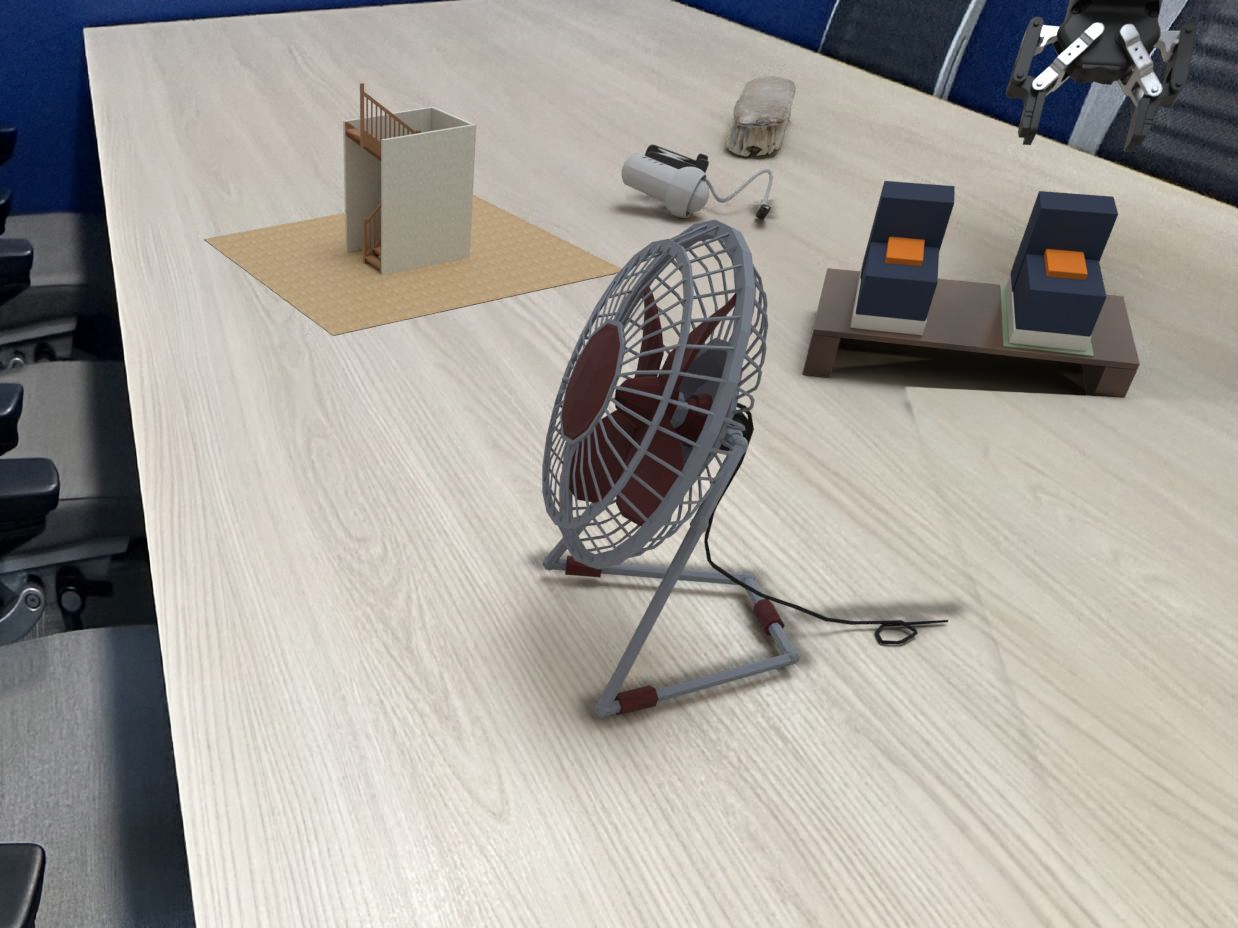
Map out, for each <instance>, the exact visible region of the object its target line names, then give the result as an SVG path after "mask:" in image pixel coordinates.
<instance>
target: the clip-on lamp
mask: <svg viewBox="0 0 1238 928" xmlns="http://www.w3.org/2000/svg"><path fill="white" fill-rule="evenodd" d="M709 164H710V161H709V156H708V155H707V154H704V153H701V152H700V153H698V154H697V156H696V159H694V158H692V157H689V156H687V155H683V154H680V153H678V152H675V151H673V150H669V149H667V148H664V147H662V146H659V145H657V144H649V145H648V146H647V148H646V150H645V153H644V154H642V153H640V152H635V153H633V154H631V155H630V156H628V157H627V158H626V160H625V161H624V162H623V165H622V167H621V180H622V182H623V184H624V185H625V186H627V187H630V188H632V189H634V190H635V191H638V192H641V193H643V194H645V195H646V196H647V195H648V196H650V197H651V198H654V199H656V200H658V201H661V202H663V203H664V205H665V207H666V209H667V211H668V212H669V213H670V214H671V215H673V216H674V217H677V218H679V219H680V218H681V219H688V218H689V217H690V216H691V215H692V213H697V212H699V211H701V210H702V209H704V207H705V206H706V205H707V204H708V201H709V198H710V192H711V194H712V196H713V197H714V199H715V200H716V201H717V202H718V203H721V204H725V203H728V202H729V201H731V200H732V199H733V198H735V197H736V196H737V195H738V194H739V193H741V192H742V191H743V190H745V188H746V187H747V186H748V185H749V184H751V183H752V182H753V181H754V180H756V178H758V177H759V176H762V175H763V174H768V178H769V180H768V183H767V188H766V191H765V193H764V196H763V199H762V202H761V205H760V207H759V208H758V210H757V211H756V213H755V218H757V219H759V220H765V219H766V217H767V215H769V213H770V211H771V209H772V207H771V206H770V205H768V204H767V203H768V200H769V196H770V194H771V190H772V185H773V179H774V175H773V171H772V170H771V169H770V168H763V169H760V170H758V171H756V172H755V173H754V174H753V175H752V176H750V177H749V178H748V179H747V180H745V182H743V183H742V184H741V185H740V186H738V188H736V189H735V190H734V191H733V192H732V193H730V194H729V195H728V196H725V197H721V196H719V194H718V193H717V191H716V189H715V186H714V185H713V183H712V182H711V180H710V179H709V178H707V174H706V173H707V170H708V168H709Z"/></svg>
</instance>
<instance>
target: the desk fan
mask: <svg viewBox="0 0 1238 928" xmlns="http://www.w3.org/2000/svg"><path fill="white" fill-rule="evenodd" d="M716 241H717V242H718V243H719V245H720V246H721V247H722V249H720V250H717V251H715V250H714V249H713V247H711V245H710V244H712V243H714V242H716ZM698 242H700V243H698ZM703 246H705V248H706V249H707V250H708V252H709V253H708V254H704V255H702V256H698V255H697V254H696V252H694V251H693V250H695V249H698V248H701V247H703ZM687 252H689V254H690V255H691V256H692V257H693V258H692V259H690V258H689V255H688V254H687ZM725 253H726V255H727V256H728V258H729V259H730V262H731V266H727V267H724V266H723V264H722V260H721V258H720V257H719V255H723V254H725ZM712 257H713V258H714V259H715V261H717V264H718V267H719V269H715V270H711V271H709V268H708V266H707V265H706V264H705V263H704V262H703V261H704V260H706V259H709V258H712ZM696 262H697V263H698V264H699V265H700V266H701V267H702V268H703V270H704V271H705V272H703V273H698V274H695V275H693V266H692V264H693V263H696ZM643 263H644V264H643ZM641 264H643V266H642V267H641V268H640V265H641ZM670 264H672V265H673V266H674V267H675V268H674V269H672V271H671V272H669V274H667V275H666V276H665V277H664V278H663V279H662V278H661V277H660V275H661V274H662V272H663V271H664V270H665V269H666V268H667V267H668V266H669V265H670ZM639 268H640V270H638V269H639ZM637 270H638V271H637ZM730 270H731V271H733V279H734V280H733V284H734V285H733V286H734V288H732V289H728V286H727V279H726V272H727V271H730ZM678 271H679V272H680V274H681V280H679V281H678V282H677V283H675V284H674V285H673V286H672V287H671V286H670V285H669V284H668V283H667V282H666V281H667V280H668V279H670V278H671V276H673V275H674V274H675V273H676V272H678ZM720 273H721V278H722V286H723V287H722V288H723V290H721V291H715V289H714V283H713V279H712V275H715V274H720ZM633 277H634V278H633ZM704 277H707V281H708V284H709V285H708V286H709V289H710V292H709V293H703V294H700V291H699V288H698V286H697V283H696V281H695V280H696V279H700V278H704ZM632 278H633V279H632ZM631 279H632V280H631ZM630 280H631V281H630ZM655 280H657V281H658V282H659V283H657V284H656V285H655V286H654V287H653V288H652V289H651V286H652V284H653V283H654V281H655ZM634 282H635V283H634ZM628 283H629V284H628ZM627 285H628V286H627ZM632 285H633V286H632ZM681 285H682V293H683V294H682V296H683V297H682V296H681V295H680V294H679V292H677V291H676V289H677V288H678V287H680V286H681ZM626 286H627V288H626V290H624V289H625V287H626ZM631 286H632V287H631ZM661 286H663V287H665V288H666V289H667V291H665V292H664V293H662V294H661V295H660V296H659V297H657V298H656V299H655V296H654V292H655V291H657V290H658V288H660V287H661ZM619 289H620V290H619ZM618 290H619V292H618ZM757 290H758V291H759V292H758V300H757V297H756V295H757ZM670 293H671V294H672V295H673V296H674V297H676V298H677V302H675V303H673V304H671V305H670V306H668V307H666V308H664V309H662V308H661V307H660V306H658V305H657V304H658V303H659V302H660V301H661V300H663V299H664V298H665V297H668V295H669V294H670ZM729 294H732V296H731V297H730V298H729ZM723 295H724V300H725V301H724V303H725V304H724V305H723V306H721V307H720V308H719V306H718V301H717V296H723ZM622 296H623V297H622ZM616 297H617V299H616ZM710 297H712V302H713V305H714V312H713V313H712V314H711V315H709V316H707V310H706V307H705V305H704V302H703V300H702V299H705V298H710ZM767 297H768V296H767V292H766V291H765V290H764V284H763V279H762V276H761V275H760V273H759V272H758V270H757V268H756V266H755V264H754V262H753V254H752V251H751V250H750V246H749V245H748V244H747V241H746V239H745V237H744V235H743V233H742V231H741V230H738V229H736V228H735V227H733V226H731V225H729V224H727V223H724V222H723V221H720V220H718V219H710V220H706V221H701V222H697V223H694V224H692V225H690V226H689V227H688V228H686V229H684V230H683V231H682V232H681V233H679V234H678V235H675V236H673V237H671V238H665V239H659V240H655V241H652V242H650V243H649V244H648V245H646V246H645V247H643V248H642V249H640V250H639V251H637V253H634V255H632V257H630V259H629V260H628V261H627V263H625V264H624V266H623V267H621V270H620V272H618V273H616V275H615V276H614V277H613V279H612V281H611V282H610V284H609V285H608V287H607V288H606V289H605V291H604V292H603V294H602V295H601V296H600V298H599V300H598V301H597V303H596V305H595V307H594V309H593V311H592V312H591V314H590V316H589V318H588V320H587V321H586V324H585V325H584V327H583V329H582V331H581V332H580V335H579V336H578V339H577V341H576V343H575V346H574V348H573V351H572V354H571V356H570V358H569V360H568V361H567V365H566V368H565V369H564V373H563V376H562V377H561V382H560V384H559V385H560V386H559V388H558V391H557V394H556V397H555V400H554V403H553V407H552V412H551V415H550V420H549V422H548V423H549V424H548V429H547V432H546V436H545V443H544V451H543V458H542V465H541V467H542V469H541V486H542V487H541V494H542V497H543V502H544V507H545V512H546V514H547V515H548V517H549V518H550V520H551V521H552V523H553V525H554V526H556V527H558V530H559V532H560V534H561V535H562V537H561V539H560V540H559V541H558V542H557V543H556V545H555V546H554V547H553V549H552V550H550V552H549V553H548V554H547V556H545V557H544V558H543V559H542V566H543V568H544V569H545V570H547V571H553V570H556V571H564V576H575V577H576V576H577V577H587V578H588V577H589V578H601V577H602V576H601V575H612V576H613V575H614V576H626V577H637V578H649V579H661V581H660V583H659V585H658V587H657V588H656V591H655V593H654V595H653V596H652V599H651V600H650V602H649V604H648V606H647V607H646V610H645V612H644V613H643V616H642V618H641V620H640V621H639V624H638V625H637V627H636V629H635V631H634V632H633V634H632V637H631V638H630V640H629V642H628V645H627V646H626V648H625V650H624V652H623V654H622V656H621V657H620V659H619V661H618V663H617V665H616V667H615V668H614V671H613V673H612V675H611V677H610V678H609V680H608V682H607V684H606V687H605V688H604V690H603V692H602V694H601V696H600V698H599V700H598V702H597V703H596V704H595V705H594V710H593V711H594V714H595V715H596V716H597V717H599V718H602V719H604V718H607V717H609V716H611V715H612V716H613V715H616V716H621V715H625V714H630V713H635V712H638V711H643V710H647V709H651V708H655V707H656V706H657V704H658V702H662V701H665V700H669V699H672V698H677V697H679V696H683V695H687V694H690V693H695V692H698V691H701V690H705V689H708V688H712V687H715V686H719V685H722V684H726V683H730V682H734V681H737V680H740V679H744V678H748V677H752V676H755V675H758V674H762V673H765V672H769V671H773V670H777V669H780V668H783V667H788V666H792V665H796V664H797V663H798V662H799V661H800V659H801V654H800V651H799V650H797V649H796V648H794V646H793V644H792V642H791V641H790V639H789V638H788V635H787V634H786V632H785V631H784V628H785V626H786V624H785V623H784V621H783V620H782V619H783V618H781V616H780V614H779V612H778V610H777V608H776V606H775V605H774V603H777V604H779V605H782V606H786V607H789V608H792V609H794V610H796V611H799V612H801V613H805V614H806V615H808V616H812V617H814V618H817V619H818V620H821V621H824V622H828V623H835V624H842V625H851V626H859V625H861V626H863V625H864V626H865V625H879V626H878V628H877V629H876V630H874V635H875V637H876V640H877V642H878V643H880V644H881V645H902V644H906V642H908V641H910V640H911V639H912V638H914V637H916V636H917V635H918V630H917V628H915V627H914V626H917V625H918V626H919V625H930V624H931V625H932V624H943V623H949V619H939V620H919V621H917V620H916V621H904V620H902V619H893V620H891V619H888V620H887V619H886V620H885V619H884V620H851V619H842V618H835V617H827V616H825V615H822V614H821V613H820V614H819V613H818V612H815V611H813V610H810V609H808V608H806V607H803V606H800V605H798V604H794V603H792V602H789V601H786V600H783V599H780V598H777V597H774V596H771V595H768V594H765V593H762V591H761V590H760V587H759V586H758V584H757V582H756V575H754V574H753V573H752V572H749V571H746V572H743V573H737V572H727V571H726V570H725V569H723V568H722V567H720V565H718V564H716V563H715V562H714V561H713V560H712V556H711V551H710V545H709V541H708V540H709V537H710V533H711V528H712V524H713V521H714V517H715V513H716V511H717V508H718V506H719V504H720V502H721V501H722V498H723V497H724V496H725V494H726V492H727V490H728V489H729V487H730V485H731V483H732V482H733V480H734V479H735V477H736V475H737V473H738V471H739V470H740V468H741V466H742V465H743V462H744V459H745V457H746V454H747V451H748V448H749V446H750V444H751V439H752V437H753V433H754V431H755V427H754V421H753V414H752V412H751V410H753V408H754V406H755V401H756V399H755V398H754V396H753V395H752V394H751V393H754V392H755V391H758V389H759V386H760V385H761V380H762V375H763V371H762V368H763V366H764V365H765V360H766V355H767V348H768V347H767V337H768V336H767V335H768V330H769V318H768V313H767V312H768V298H767ZM621 298H622V299H621ZM609 299H611V300H610V304H609V306H608V303H609ZM615 299H616V301H615ZM620 299H621V300H620ZM694 300H697V301H698V304H699V307H700V309H701V313H702V316H703V317H700V318H692V315H693V314H692V313H693V305H694ZM620 301H621V302H620ZM614 302H615V304H614ZM613 304H614V306H613ZM642 304H643V310H642V311H641V312H640V314H638V316H637V317H636V318H635V320H633V318H634V316H635V314H636V313H637V312H638V310H639V309H640V307H641V306H642ZM762 304H763V305H762ZM618 305H619V306H618ZM679 305H681V307H682V314H681V320H678V321H676V322H674V321H673V320H672V318H671V317H670V316H669V315H668V314H667V313H668V312H669V311H670V310H672V309H674V308H675V307H678V306H679ZM607 306H608V310H607ZM612 308H613V309H612ZM755 308H756V309H757V311H756V319H755V321H754V324H752V323H753V317H754V313H755ZM602 310H603V311H602ZM606 310H607V311H606ZM732 310H733V311H732ZM601 311H602V313H601ZM611 311H612V312H611ZM606 312H607V313H606ZM730 312H732V314H731V315H729V313H730ZM600 313H601V314H600ZM642 316H643V322H642V324H640V323H638V322H639V321H640V319H641V318H642ZM660 316H663V317H664V318H665V319H666V321H667V322H668V323H669V325H667V326H665V327H663V326H662V323H661V319H660ZM599 318H601V319H600V323H599ZM760 318H761V319H760ZM726 321H729V322H728V325H727V327H726V330H725V333H724V336H723V339H722V338H721V337H722V335H723V334H722V333H723V331H724V326H725V322H726ZM759 321H760V327H759V330H757V329H756V328H757V327H758V326H759ZM630 323H631V324H630ZM696 323H699V324H697V326H696ZM594 324H595V327H594V330H593V332H592V328H593V326H594ZM628 324H630V326H629V325H628ZM598 325H599V326H598ZM679 325H680V329H678V328H677V326H679ZM719 325H720V326H719ZM732 325H733V326H732ZM627 326H629V327H628V328H627ZM634 326H635V327H637V329H636V330H634V332H633V333H632V334H631V335H630V336H629V337H628V338H627V339H626V336H627V335H628V334H629V333H630V332H631V330H632V329H633V328H634ZM718 326H719V330H718V333H717V336H716V337H714V335H715V330H716V329H717V327H718ZM626 328H627V329H626ZM691 328H692V331H691ZM625 329H626V331H625ZM670 329H673V331H674V332H675V334H676V335H677V336H678V341H677V344H673V345H669V346H666V345H665V344H664V339H663V338H664V337H663V333H664V332H665V331H666V332H667V331H668V330H670ZM731 329H732V332H731ZM679 330H680V331H679ZM640 331H642V337H641V338H640V339H638V340H637V341H636V342H635V343H633V344H632V345H630V346H629V347H628V346H627V344H628V343H629V342H630V341H631V340H632V339H633V338H634V337H635V336H636V335H637V334H638V333H639V332H640ZM730 332H731V333H730ZM753 333H754V335H755V338H754V340H753V341H752V342H751V344H750V346H749V347H748V345H749V340H750V337H751V336H752V334H753ZM729 334H730V337H729ZM728 337H729V339H728ZM708 339H709V341H708V342H707V340H708ZM727 339H728V340H727ZM586 340H587V341H586ZM759 341H761V344H760V346H759V348H758V351H757V352H756V353H755V354H754V355H753V356H752V357H750V356H749V354H750V352H751V351H752V350H753V348H754V347H755V346H756V345H757V343H758V342H759ZM706 342H707V343H706ZM640 343H641V344H640ZM639 344H640V348H639V349H640V350H639V352H637V351H635V350H633V349H634V348H635V347H637V346H638V345H639ZM628 353H630V354H632V355H633V356H631V357H630V358H628V359H626V360H624V358H625V355H626V354H628ZM665 353H667V357H666V358H665V360H664V362H663V365H662V361H663V359H664V355H665ZM760 355H761V357H760V362H759V364H758V363H757V362H756V361H755V360H756V359H757V358H759V356H760ZM636 359H638V360H637V367H636V370H632V371H627V372H622V369H623V367H624V366H625V365H627V364H628V363H631V362H633V361H634V360H636ZM745 360H746V361H747V362H746V363H745V365H744V361H745ZM661 366H662V367H661ZM750 366H752V367H754V368H755V369H754V370H753V371H752V372H750V373H749V374H748V375H746V376H745V377H744V378H743V373H744V372H745V371H746V370H747V368H749V367H750ZM756 374H757V379H756V384H755V385H754V386H753V387H752V388H750V389H748V390H744V389H743V388H741V387H742V386H743V385H744V384H745V383H746V382H747V381H749V380H751V378H752V377H754V376H755V375H756ZM631 376H634V377H631ZM620 378H622V379H624V380H623V381H622V382H621V383H620V385H618V382H619V380H620ZM742 378H743V379H742ZM613 395H614V397H613ZM745 396H746V397H748V398H749V400H750V404H749V406H746V405H745V404H743V403H741V402H739V400H740V399H742V398H743V397H745ZM610 403H612V404H613V405H614V408H615V410H613V411H612V412H610V411H609V409H608V408H609V405H610ZM560 408H561V410H560ZM745 414H746V415H745ZM604 415H605V416H604ZM558 419H559V421H557V420H558ZM559 426H560V427H559ZM555 432H557V433H556V434H555ZM554 434H555V436H554ZM558 437H559V438H558ZM557 439H558V440H557ZM556 441H557V442H556ZM555 443H556V445H555ZM554 445H555V447H554V448H553V446H554ZM559 445H560V446H559ZM558 447H559V448H558ZM562 448H563V449H562ZM560 454H561V455H560ZM718 454H720V455H724V456H725V458H724V459H723V461H722V460H721V459H720V457H719V455H718ZM554 457H555V459H554ZM553 459H554V461H553V463H552V460H553ZM714 459H715V460H716V461H717V464H718V465H719V469H718V471H717V472H716V474H715V476H714V477H712V473H711V471H710V468H709V465H710V464H711V463H712V461H713V460H714ZM557 462H558V465H557V467H556V470H555V469H554V468H555V466H556V463H557ZM560 468H561V470H560ZM554 470H555V472H554ZM705 470H706V474H707V476H702V474H703V473H704V471H705ZM559 471H561V472H560V474H559V479H558V473H559ZM553 479H554V488H553ZM702 481H708V482H709V487H708V489H707V490H706V492H705V493H704V495H703V488H702ZM696 482H697V488H698V489H697V491H698V500H693V486H694V485H695V483H696ZM557 487H558V498H557ZM552 488H553V489H552ZM687 493H688V500H685V496H686V495H687ZM573 498H574V499H573ZM573 501H574V502H575V503H574V502H573ZM578 501H582V502H585V506H579V503H578ZM574 504H575V506H574ZM613 504H615V506H616V507H617V509H618V511H619V512H617V513H616V514H614V513H613V512H612V511H611V509H609V506H611V505H613ZM556 505H557V506H558V508H557V507H556ZM683 505H687V511H686V512H685V515H684V517H683V518H682V512H683V507H684V506H683ZM692 505H695V506H694V507H693V509H692ZM677 508H678V510H677ZM582 510H584V511H583V512H582V513H581V514H579V511H582ZM676 510H677V516H676V519H675V520H673V521H671V520H672V517H673V514H674V513H675V511H676ZM574 511H575V512H576V513H575V514H576V516H574ZM604 511H606V512H607V514H608V515H609V517H608V518H606V519H604V520H601V521H598V520H597V517H598V516H599V515H601V514H602V513H603V512H604ZM693 515H694V516H693ZM619 516H621V517H622V518H624V519H626V521H624V522H623V523H621V521H620V520H619V519H618V517H619ZM692 517H693V518H692ZM681 518H682V519H681ZM690 519H691V520H690ZM688 520H690V522H689V528H688V530H687V532H686V534H685V535H684V537H683V539H682V541H681V544H680V545H679V547H678V549H677V551H676V552H675V554H674V557H673V559H672V561H671V562H670V564H669V566H668V567H664V566H651V565H640V564H628V563H624V562H625V561H626V560H628V559H632V558H635V557H640V556H642V555H644V554H645V553H646V552H648V551H651V550H652V551H653V550H655V549H657V548H658V547H660V546H661V545H662V544H663V543H664V542H665V541H666V539H670V538H671V537H673V536H675V534H676V533H677V532H678V531H679V530H680V528H681V527H682V526H683V525H684V524H685V523H686V522H687V521H688ZM592 521H593V522H592ZM610 521H614V522H615V523H616V524H617V526H618V527H616V528H615V529H613V530H612V531H610V532H608V533H607V532H606V531H605V529H604V528H603V527H602V526H601V525H604V524H607V523H608V522H610ZM631 522H632V523H634V524H635V525H636V526H635V527H633V528H632V529H630V531H629V530H627V528H625V527H626V526H628V525H629V524H630V523H631ZM593 526H594V527H595V526H596V527H597V528H598V529H599V531H600V532H601V534H602V535H601V534H600V535H596V536H591V534H590V533H589V532H588V530H587V527H593ZM669 526H671V527H670V528H669ZM661 529H662V530H661ZM667 529H668V530H667ZM620 530H622V531H623V532H624V534H625V535H624V536H622V537H621V538H620V539H619V540H617V541H615V542H613V540H612V539H611V538H610V536H612V535H615V534H616V533H617V532H619V531H620ZM660 530H661V531H660ZM583 532H584V533H585V535H586V536H587V537H583V538H580V535H581V534H582V533H583ZM633 533H634V534H633ZM703 534H704V539H703V540H704V541H703V543H704V549H705V555H706V561H707V562H708V564H709V565H710V566H711V568H712V569H714V571H711V570H699V569H698V570H697V569H688V568H686V565H687V563H688V562H689V559H690V558H691V556H692V554H693V552H694V550H695V548H696V546H697V545H698V542H699V541H700V539H701V537H702V535H703ZM601 539H606V540H607V542H608V543H609V545H604V546H598V545H597V544H596V542H595V540H601ZM588 541H589V542H591V544H592V546H593V548H586V547H585V544H584V543H583V542H588ZM648 543H649V544H648ZM647 544H648V545H647ZM646 546H647V547H646ZM606 549H610V550H606ZM567 550H568V553H569V554H570V555H566V558H562V557H563V555H564V554H565V553H566V552H567ZM601 550H602V551H601ZM603 550H605V551H603ZM594 552H597V553H594ZM678 581H686V582H695V583H696V582H698V583H709V584H718V585H719V584H721V585H722V584H723V585H732V586H733V585H734V586H735V585H736V586H740V587H741V588H743V589H744V590H745V592H746V593H747V595H748V597H749V598H750V600H751V602H752V604H753V606H752V613H753V615H754V616H755V618H756V619H757V621H758V623H759V624H760V627H761V628H762V631H764V632H765V634H766V636H769V637H772V639H773V641H774V642H775V644H776V646H777V648H778V649H779V651H780V653H781V654H779V655H777V656H776V655H775V656H772V657H770V658H769V657H768V658H765V659H762V660H758V661H755V662H751V663H747V664H743V665H740V666H737V667H733V668H730V669H726V670H722V671H719V672H715V673H712V674H711V673H710V674H707V675H704V676H700V677H696V678H693V679H689V680H686V681H681V682H679V683H675V684H672V685H668V686H664V687H660V688H656V687H654V686H653V685H650V684H648V685H645V686H640V687H636V688H632V689H629V690H628V689H627V690H625V691H622V692H620V690H621V688H622V686H623V685H624V683H625V681H626V679H627V677H628V675H629V673H630V671H631V670H632V667H633V665H634V663H635V662H636V660H637V658H638V656H639V654H640V651H641V650H642V648H643V647H644V645H645V643H646V641H647V639H648V637H649V635H650V634H651V632H652V630H653V628H654V626H655V624H656V622H657V620H658V618H659V617H660V615H661V613H662V610H663V609H664V607H665V605H666V603H667V602H668V599H669V598H670V595H671V594H672V592H673V590H674V588H675V586H676V584H677V582H678ZM772 602H773V603H772ZM902 626H903V627H905V628H906V629H908V630H910V631H911V632H912V633H910V634H909V635H906V636H905V637H904V638H901V639H899V640H891V639H890V640H887V639H883V638H882V636H881V635H880V633H881V632H882V630H883V629H884V628H891V627H902Z"/></svg>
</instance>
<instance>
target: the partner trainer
mask: <svg viewBox="0 0 1238 928" xmlns="http://www.w3.org/2000/svg"><path fill="white" fill-rule="evenodd" d="M955 189H956V187H955V185H946V184H945V185H944V184H933V183H932V184H931V183H921V182H920V183H919V182H906V181H895V180H894V181H893V180H884V181H883V184H882V188H881V191H880V195H879V200H878V203H877V207H876V211H875V214H874V218H873V222H872V226H871V229H870V233H869V237H868V240H867V245H866V248H865V252H864V256H863V260H862V263H861V267H860V270H859V271H860V274H859V280H858V286H857V292H856V298H855V304H854V309H853V315H852V321H851V328H855V329H864V330H874V331H883V332H892V333H902V334H911V335H921V336H922V335H923V332H924V329H925V326H926V323H927V315H928V312H929V309H930V306H931V303H932V299H933V296H934V293H935V290H936V286H937V283H938V279H939V263H940V251H941V248H942V245H943V241H944V239H945V236H946V235H945V234H946V232H947V229H948V225H949V223H950V218H951V216H952V212H953V208H954V206H955Z"/></svg>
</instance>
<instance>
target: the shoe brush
mask: <svg viewBox="0 0 1238 928" xmlns="http://www.w3.org/2000/svg"><path fill="white" fill-rule="evenodd" d="M795 95H796V84H795V82H794V81H792V80H791V79H789V78H784V77H780V76H774V75H773V76H772V75H766V76H761V77H756V78H753V79H751V80H750V81H747V82H746V84H744V87H743V89H742V91H741V93H740V95H739V98H738V99H737V100H736V101H735V104H734V106H733V113H732V114H733V124H732V126H731V129H730V131H729V134H728V136H727V139H726V141H725V143H724V144H725V145H724V146H725V147H726V149H728V151H730V152H732V153H733V154H735V155H737V156H742V157H749V156H750V155H751V154H752V151H754V152H758V151H759V149H760V151H759V152H758V153H756V156H757V157H758V156H765V155H767V153H768V155H771V154H772V153H774V150H776V151H778V150H779V149H781V146H782V144H783V140H784V136H785V130H786V128H787V127H788V123H789V122H790V119H791V117H792V106H793V101H794V99H795ZM753 147H754V148H753Z"/></svg>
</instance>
